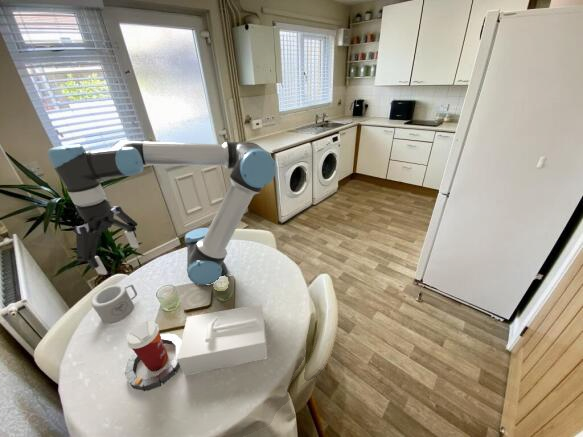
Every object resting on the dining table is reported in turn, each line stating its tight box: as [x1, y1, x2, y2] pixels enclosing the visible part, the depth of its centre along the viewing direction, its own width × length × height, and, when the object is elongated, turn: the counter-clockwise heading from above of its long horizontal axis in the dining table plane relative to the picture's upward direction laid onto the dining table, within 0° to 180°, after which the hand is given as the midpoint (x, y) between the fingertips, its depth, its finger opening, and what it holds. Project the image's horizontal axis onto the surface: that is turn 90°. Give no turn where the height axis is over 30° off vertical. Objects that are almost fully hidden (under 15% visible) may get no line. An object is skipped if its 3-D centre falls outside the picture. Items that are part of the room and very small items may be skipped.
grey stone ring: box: [124, 333, 182, 392], centre depth 75 cm, size 16×16×3 cm
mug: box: [90, 284, 138, 325], centre depth 92 cm, size 14×11×10 cm
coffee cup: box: [126, 320, 169, 373], centre depth 72 cm, size 8×8×15 cm
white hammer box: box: [177, 303, 269, 376], centre depth 77 cm, size 14×25×11 cm, turn 100°
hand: (120, 259), depth 79 cm, fingers open, 13 cm apart
